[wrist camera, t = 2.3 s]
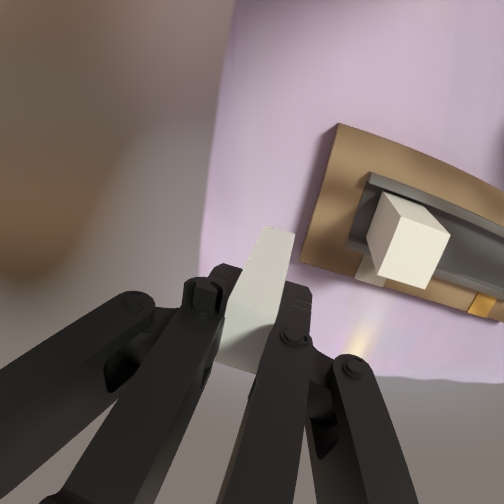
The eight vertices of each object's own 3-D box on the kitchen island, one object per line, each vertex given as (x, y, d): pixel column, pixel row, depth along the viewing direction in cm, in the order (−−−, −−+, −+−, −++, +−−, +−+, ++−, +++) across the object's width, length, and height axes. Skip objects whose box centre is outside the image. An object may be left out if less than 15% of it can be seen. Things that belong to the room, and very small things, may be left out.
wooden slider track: (338, 122, 25) (340, 123, 22) (553, 222, 22) (568, 232, 20) (300, 252, 31) (297, 267, 28) (507, 316, 28) (517, 331, 25)
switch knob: (382, 191, 24) (401, 216, 18) (423, 205, 24) (450, 235, 18) (365, 237, 26) (377, 274, 20) (405, 250, 26) (424, 289, 20)
